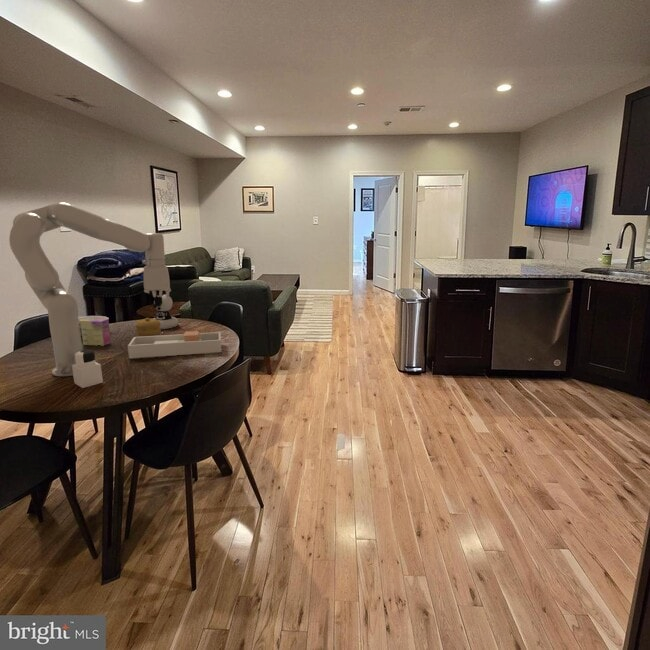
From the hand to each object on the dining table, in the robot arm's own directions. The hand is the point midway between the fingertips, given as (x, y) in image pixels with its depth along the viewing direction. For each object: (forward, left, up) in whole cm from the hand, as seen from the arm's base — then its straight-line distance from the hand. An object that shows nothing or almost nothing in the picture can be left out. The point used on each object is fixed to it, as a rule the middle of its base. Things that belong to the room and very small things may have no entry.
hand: (158, 305), depth 182 cm
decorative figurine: (+48, +5, -22) cm, 53 cm away
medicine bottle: (-32, +22, -22) cm, 44 cm away
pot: (+28, +10, -22) cm, 37 cm away
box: (+21, +32, -22) cm, 44 cm away
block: (0, -13, -17) cm, 21 cm away
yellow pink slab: (+40, +42, -22) cm, 62 cm away
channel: (0, -6, -21) cm, 22 cm away
